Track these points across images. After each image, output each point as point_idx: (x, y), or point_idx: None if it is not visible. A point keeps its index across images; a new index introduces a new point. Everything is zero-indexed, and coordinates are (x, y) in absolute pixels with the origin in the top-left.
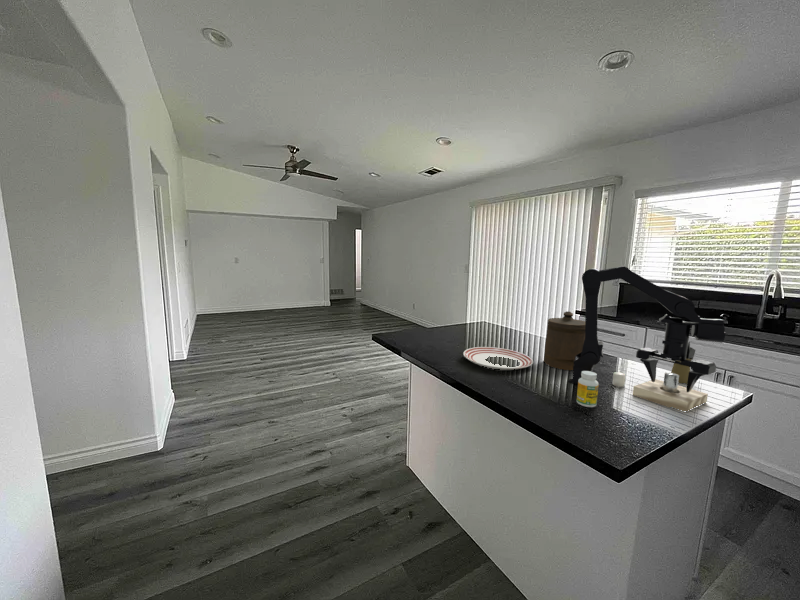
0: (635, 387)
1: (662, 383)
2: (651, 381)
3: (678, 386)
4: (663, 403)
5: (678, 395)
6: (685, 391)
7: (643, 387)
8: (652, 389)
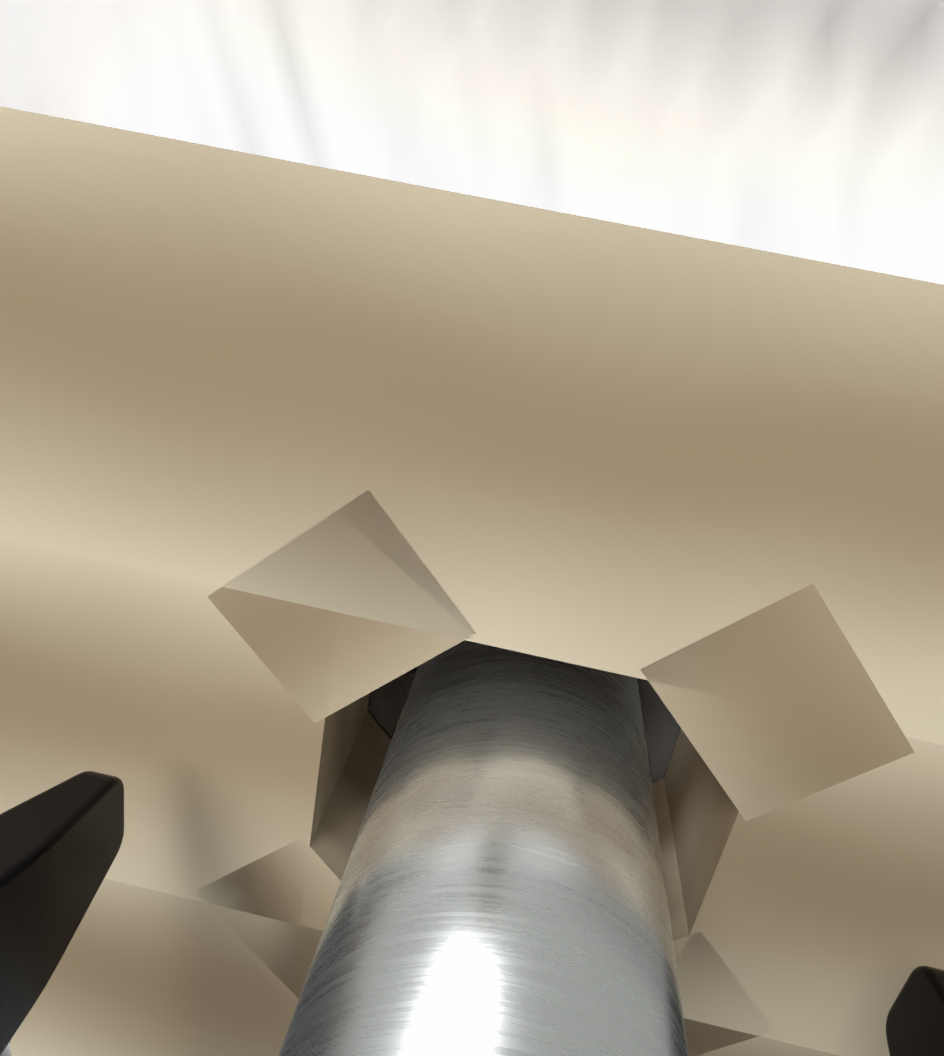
0: (55, 1050)
1: (236, 440)
2: (7, 503)
3: (628, 353)
4: None
5: (714, 1047)
6: (832, 682)
7: (135, 1027)
8: (275, 1029)
